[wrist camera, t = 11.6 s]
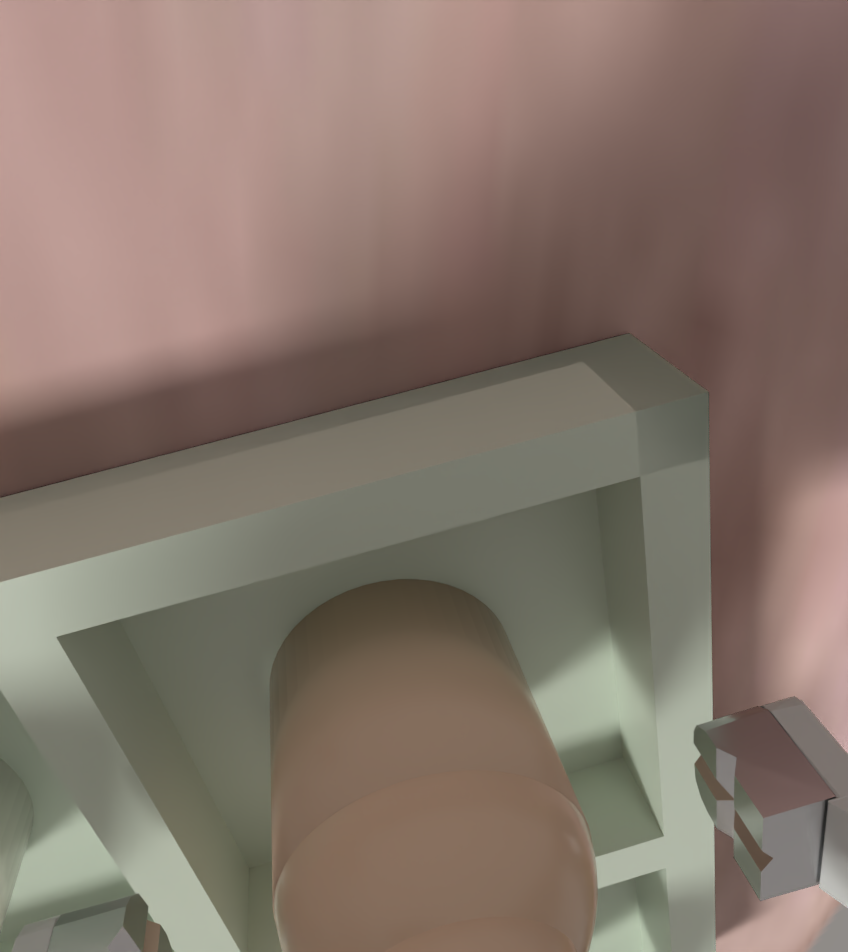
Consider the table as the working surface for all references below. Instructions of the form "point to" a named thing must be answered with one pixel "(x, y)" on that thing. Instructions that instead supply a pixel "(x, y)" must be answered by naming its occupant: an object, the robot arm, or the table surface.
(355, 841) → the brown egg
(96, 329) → the table surface
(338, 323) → the table surface
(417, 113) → the table surface
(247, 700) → the egg tray
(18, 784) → the cream egg
